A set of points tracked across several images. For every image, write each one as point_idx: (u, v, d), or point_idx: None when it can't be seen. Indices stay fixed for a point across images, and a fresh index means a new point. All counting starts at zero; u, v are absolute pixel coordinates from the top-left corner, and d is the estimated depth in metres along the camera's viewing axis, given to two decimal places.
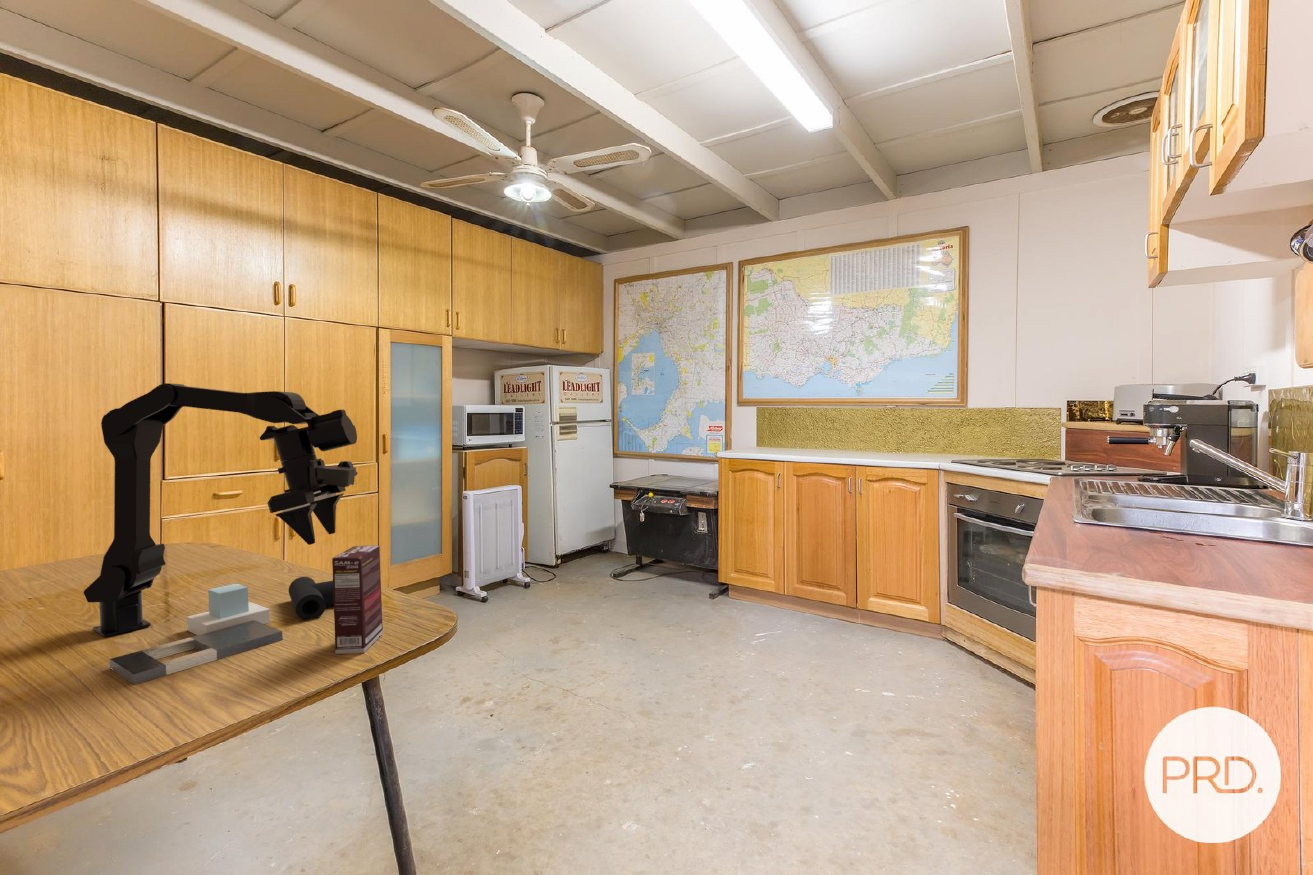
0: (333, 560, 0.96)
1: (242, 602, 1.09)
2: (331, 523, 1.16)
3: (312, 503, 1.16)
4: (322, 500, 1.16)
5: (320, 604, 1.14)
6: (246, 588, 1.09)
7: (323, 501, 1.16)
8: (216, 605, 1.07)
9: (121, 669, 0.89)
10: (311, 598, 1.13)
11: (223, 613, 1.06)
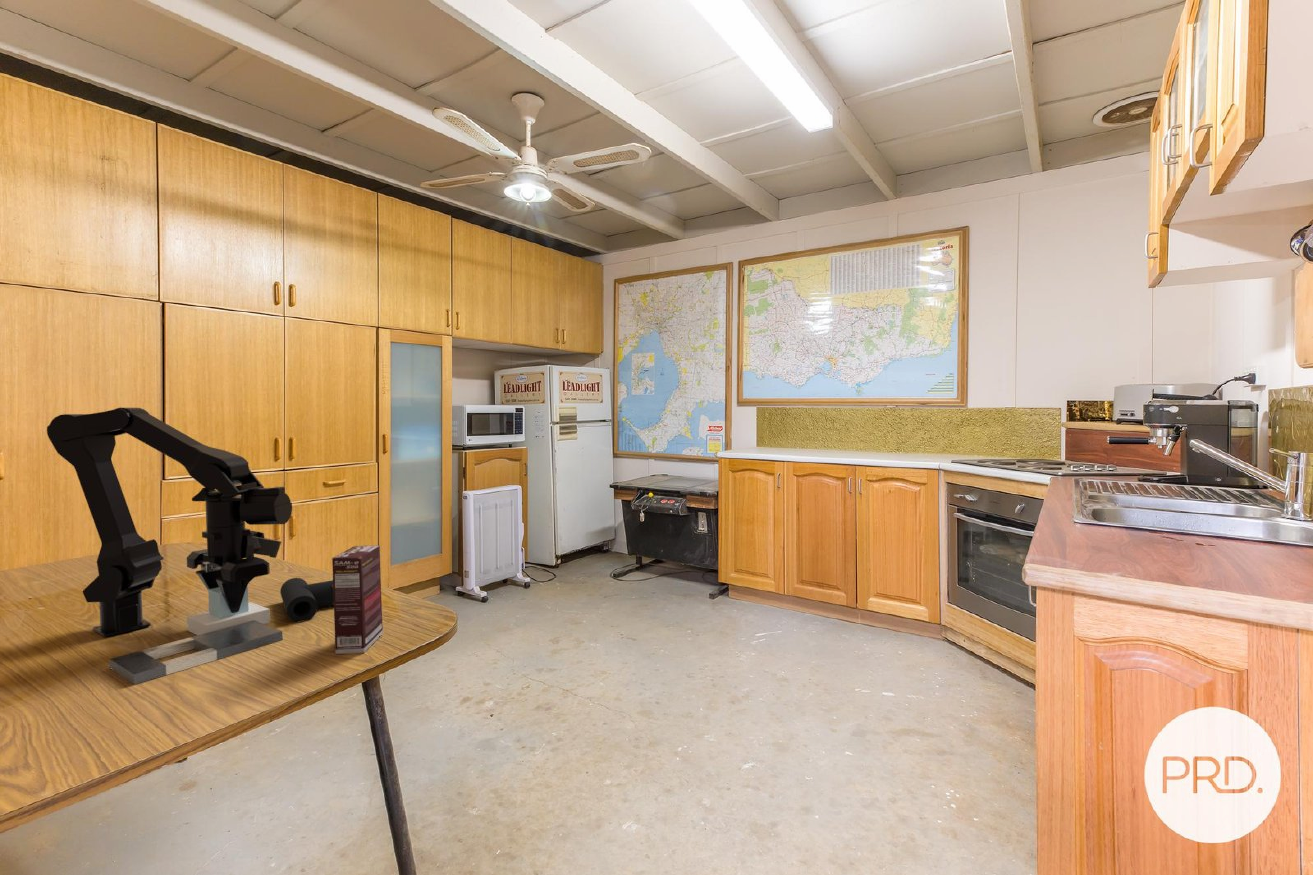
0: (333, 560, 0.96)
1: (242, 602, 1.09)
2: None
3: (206, 574, 1.09)
4: (219, 571, 1.10)
5: (312, 605, 1.13)
6: (246, 588, 1.09)
7: (220, 572, 1.10)
8: (216, 605, 1.07)
9: (121, 669, 0.89)
10: (303, 599, 1.12)
11: (223, 613, 1.06)
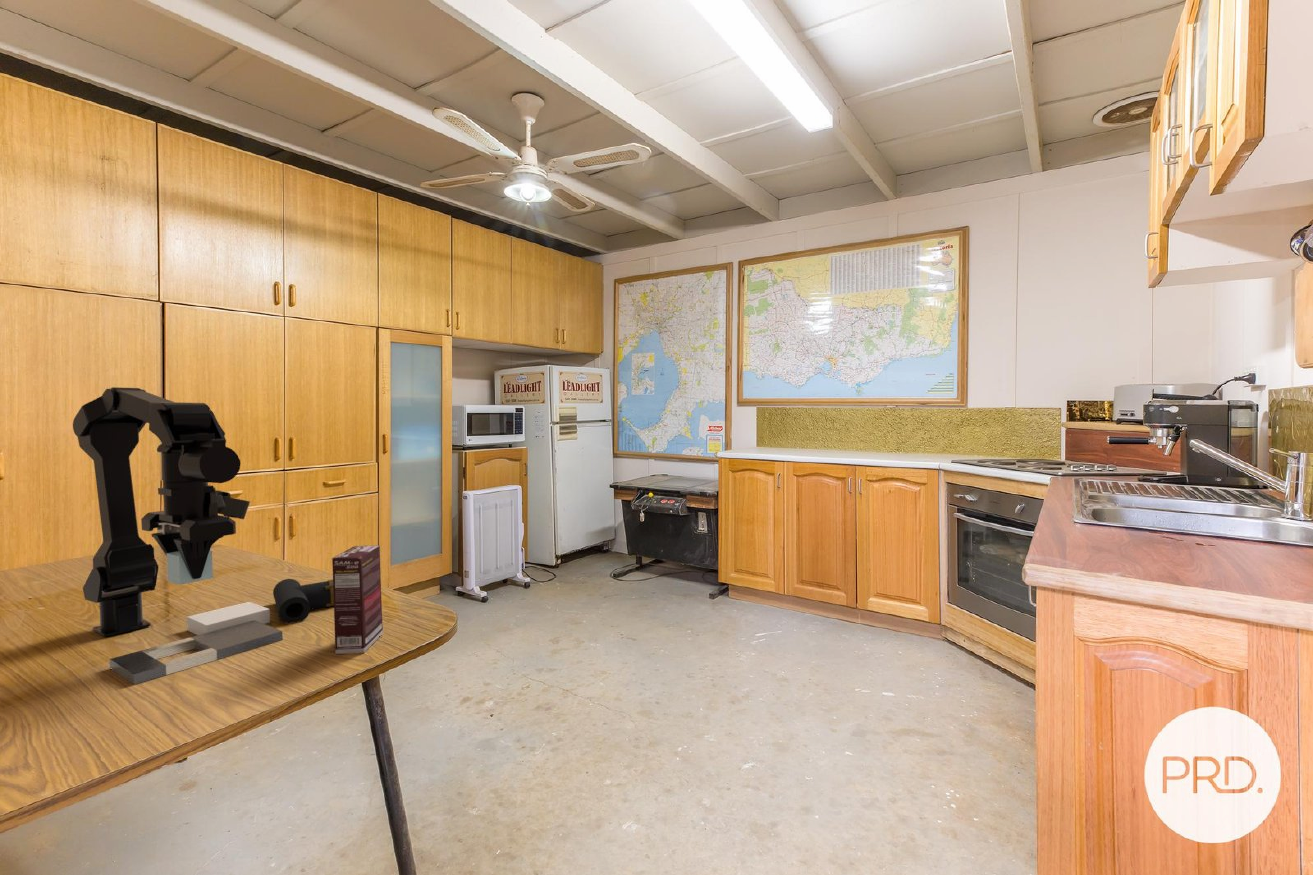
0: (333, 560, 0.96)
1: (205, 567, 0.97)
2: None
3: (164, 536, 0.96)
4: (178, 533, 0.98)
5: (304, 607, 1.12)
6: (210, 551, 0.97)
7: (179, 535, 0.98)
8: (175, 570, 0.95)
9: (121, 669, 0.89)
10: (295, 601, 1.11)
11: (183, 579, 0.94)
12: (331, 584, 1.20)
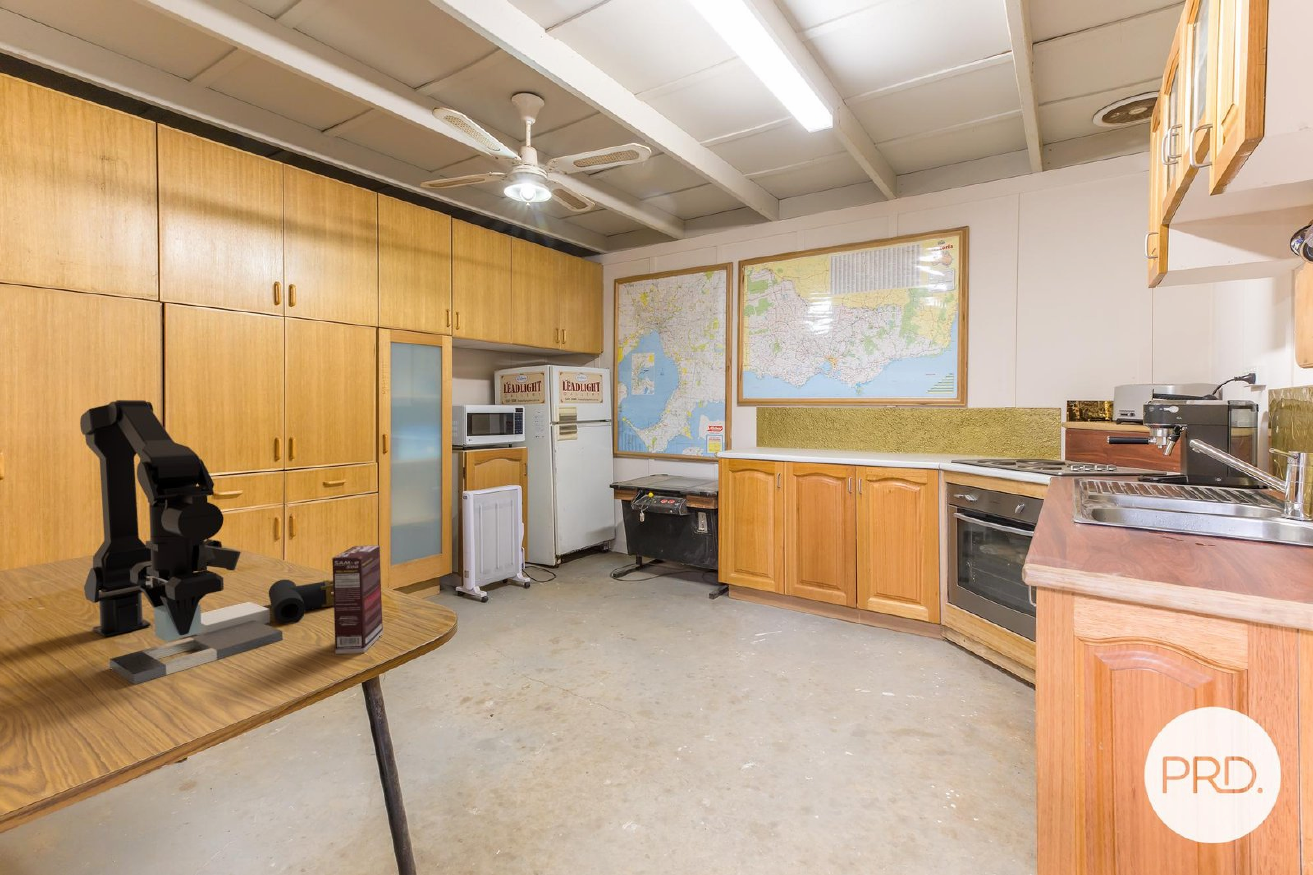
0: (333, 560, 0.96)
1: (193, 622, 0.94)
2: None
3: (152, 590, 0.94)
4: None
5: (300, 607, 1.12)
6: (198, 606, 0.95)
7: None
8: (162, 626, 0.92)
9: (121, 669, 0.89)
10: (290, 601, 1.11)
11: (170, 635, 0.92)
12: (327, 585, 1.20)
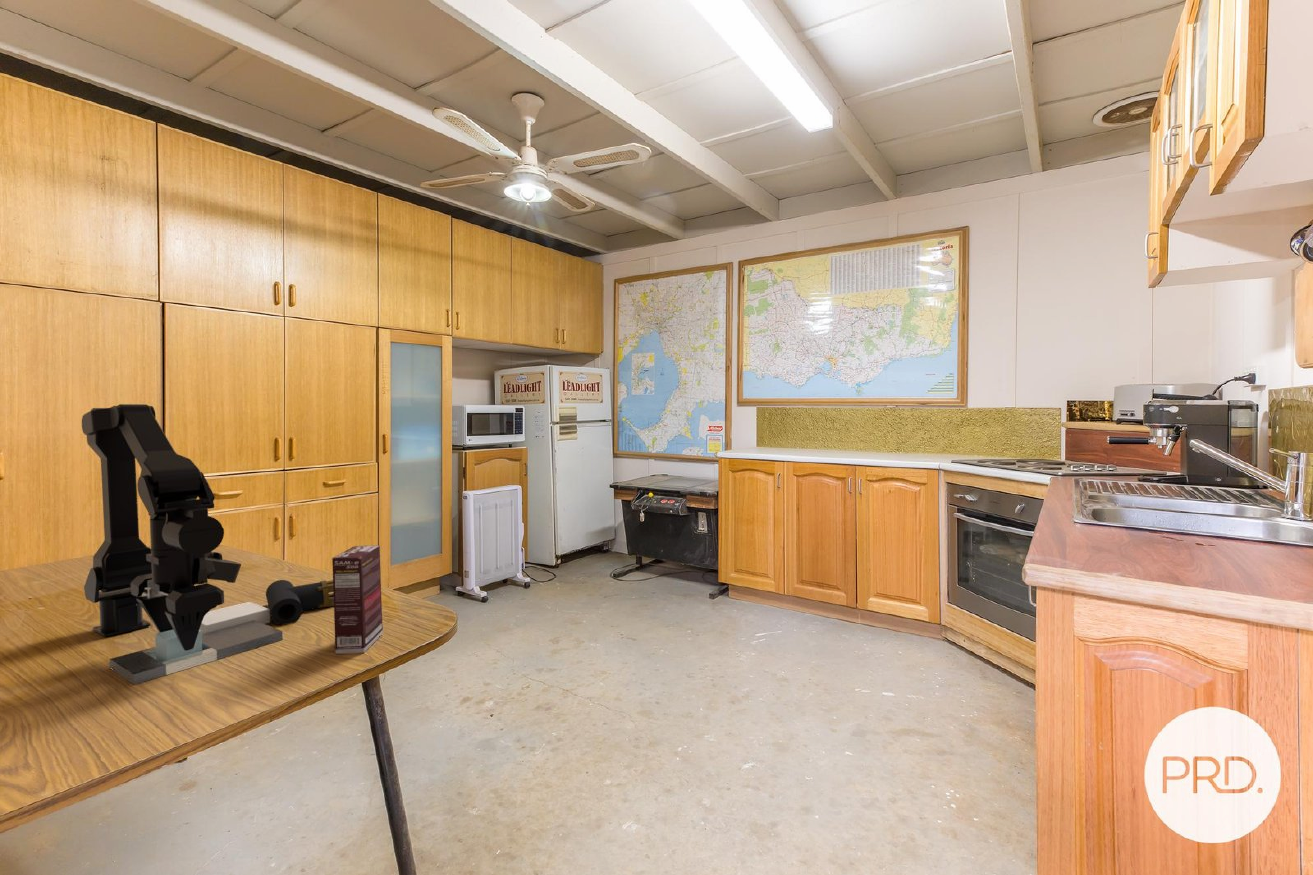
0: (333, 560, 0.96)
1: (194, 648, 0.94)
2: (171, 626, 0.97)
3: (148, 601, 0.95)
4: (163, 597, 0.96)
5: (297, 608, 1.11)
6: (199, 632, 0.95)
7: (165, 599, 0.96)
8: (163, 653, 0.92)
9: (121, 669, 0.89)
10: (287, 602, 1.10)
11: None
12: (324, 585, 1.19)
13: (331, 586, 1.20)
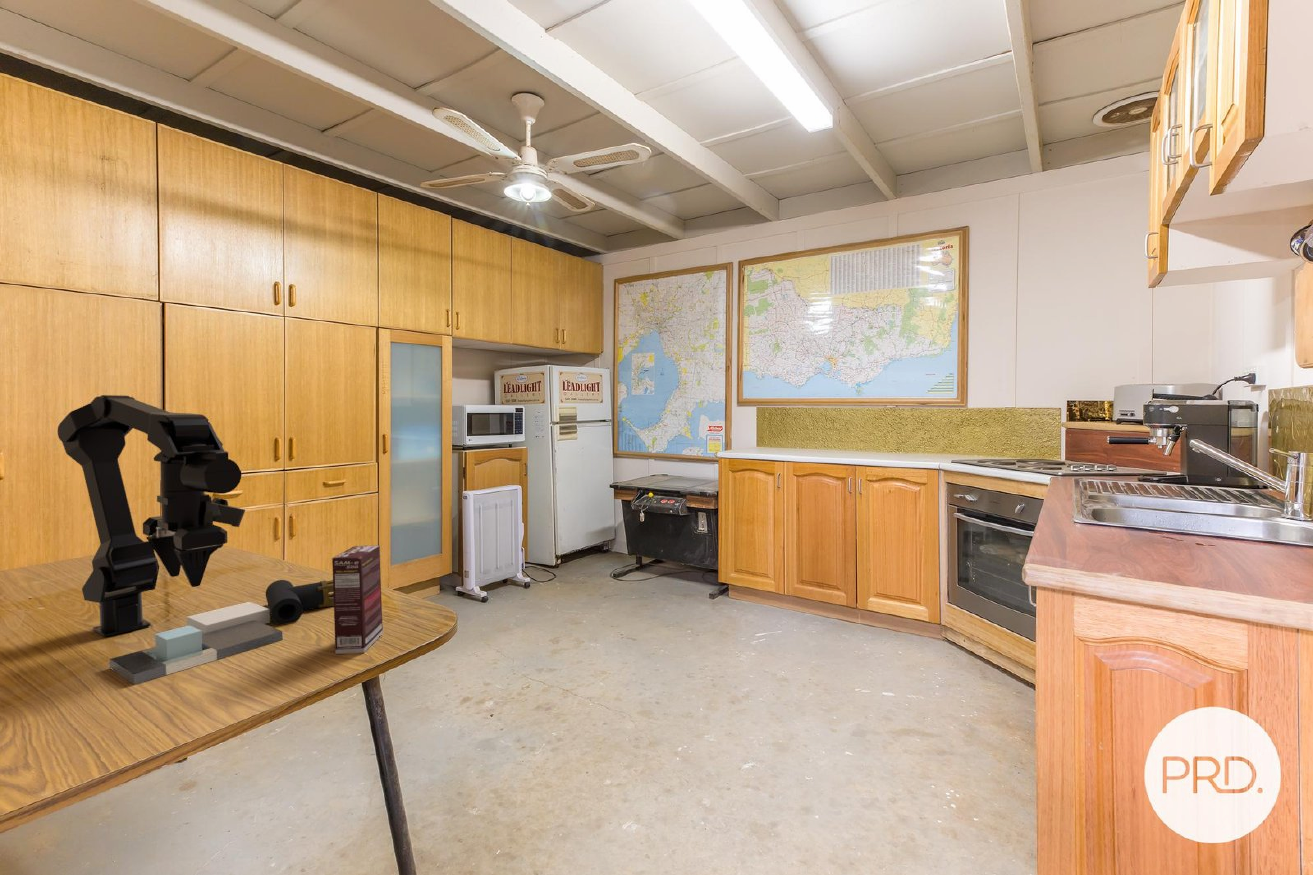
0: (333, 560, 0.96)
1: (194, 648, 0.94)
2: (178, 564, 1.04)
3: (157, 540, 1.02)
4: (171, 537, 1.03)
5: (297, 608, 1.11)
6: (199, 632, 0.95)
7: (172, 538, 1.03)
8: (163, 653, 0.92)
9: (121, 669, 0.89)
10: (287, 602, 1.11)
11: None
12: (324, 585, 1.19)
13: (331, 586, 1.20)
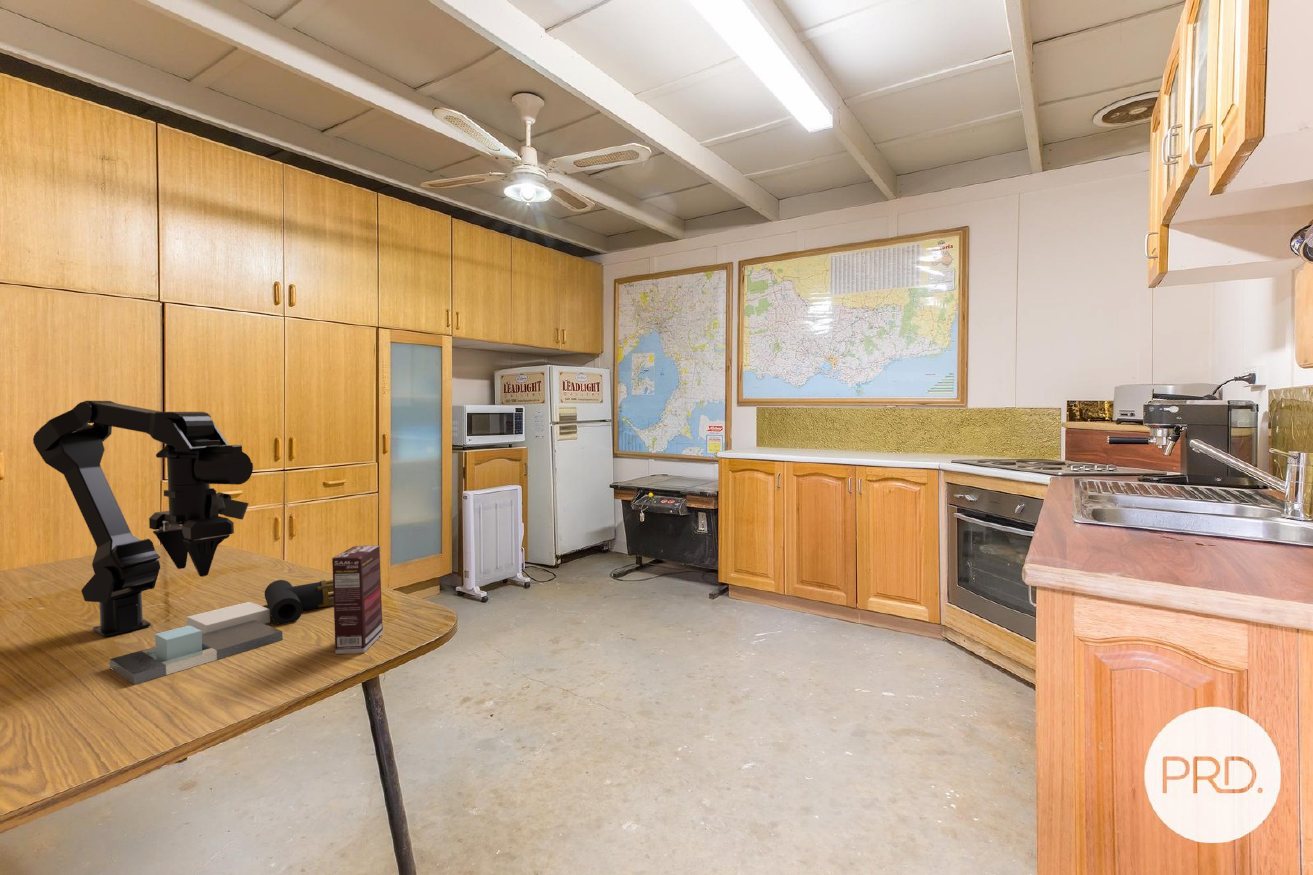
0: (333, 560, 0.96)
1: (194, 648, 0.94)
2: (184, 557, 1.08)
3: (164, 533, 1.06)
4: (177, 531, 1.07)
5: (297, 608, 1.12)
6: (199, 632, 0.95)
7: (178, 532, 1.07)
8: (163, 653, 0.92)
9: (121, 669, 0.89)
10: (287, 602, 1.11)
11: None
12: (323, 585, 1.19)
13: (330, 586, 1.20)
